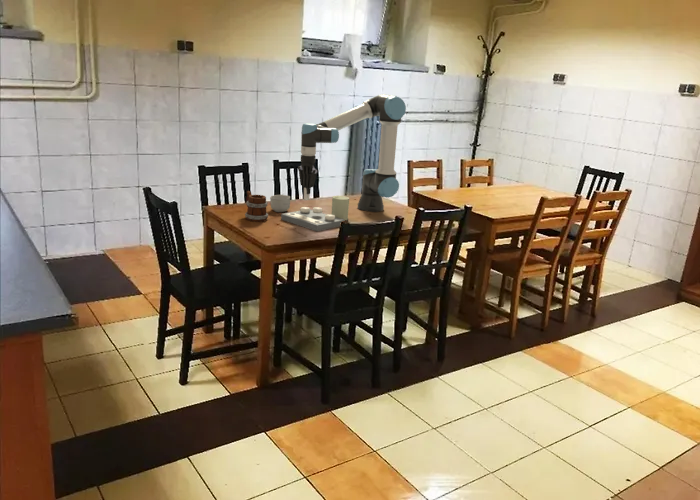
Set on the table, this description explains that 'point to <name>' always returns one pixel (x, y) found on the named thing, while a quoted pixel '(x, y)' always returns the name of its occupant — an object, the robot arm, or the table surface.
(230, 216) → the table surface
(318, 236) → the table surface
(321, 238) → the table surface
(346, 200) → the can
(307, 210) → the button
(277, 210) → the teacup
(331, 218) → the button
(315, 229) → the button board
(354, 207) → the table surface
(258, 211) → the mug
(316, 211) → the button middle
